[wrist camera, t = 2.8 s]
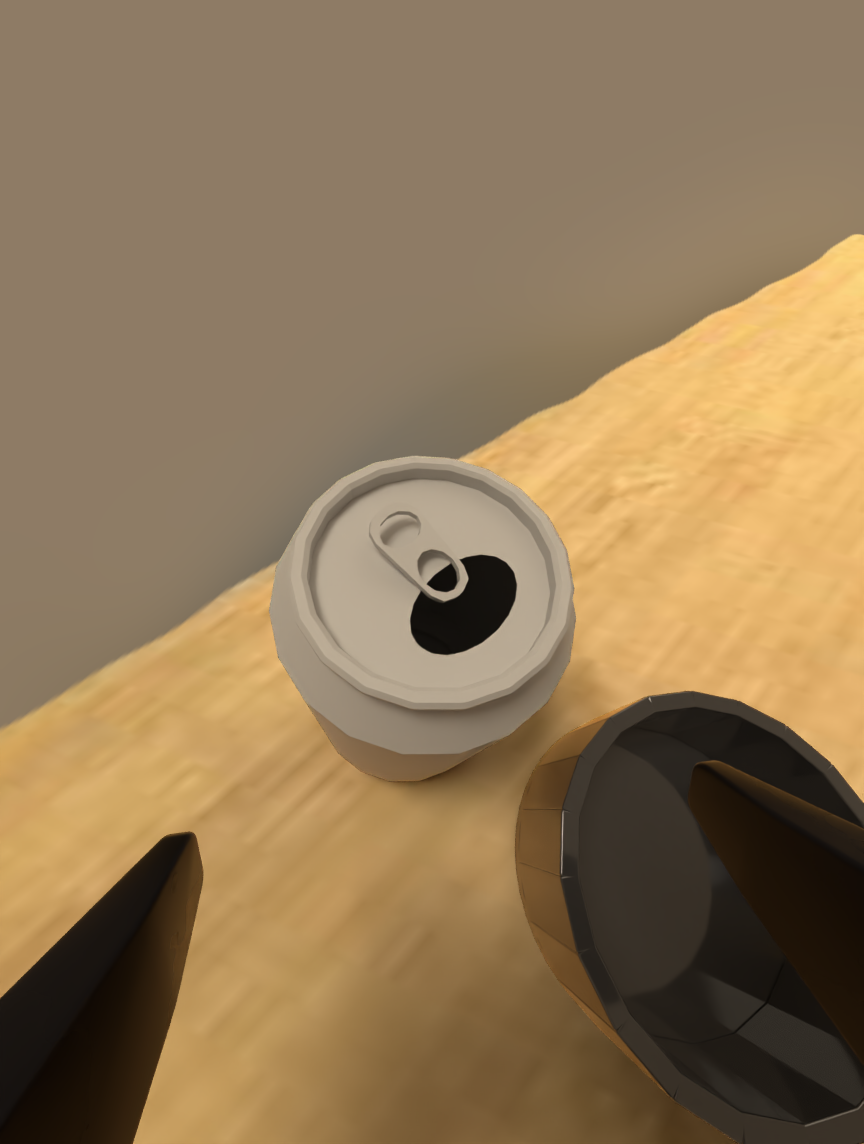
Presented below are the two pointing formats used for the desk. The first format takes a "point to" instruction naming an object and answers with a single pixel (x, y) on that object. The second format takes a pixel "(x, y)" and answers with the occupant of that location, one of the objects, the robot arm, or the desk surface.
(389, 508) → the can
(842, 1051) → the bowl
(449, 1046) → the desk surface
